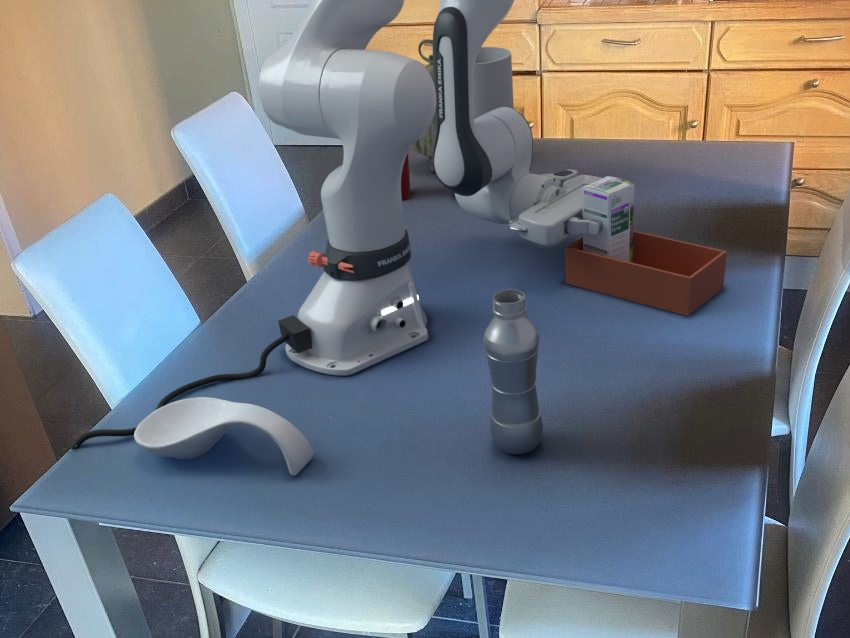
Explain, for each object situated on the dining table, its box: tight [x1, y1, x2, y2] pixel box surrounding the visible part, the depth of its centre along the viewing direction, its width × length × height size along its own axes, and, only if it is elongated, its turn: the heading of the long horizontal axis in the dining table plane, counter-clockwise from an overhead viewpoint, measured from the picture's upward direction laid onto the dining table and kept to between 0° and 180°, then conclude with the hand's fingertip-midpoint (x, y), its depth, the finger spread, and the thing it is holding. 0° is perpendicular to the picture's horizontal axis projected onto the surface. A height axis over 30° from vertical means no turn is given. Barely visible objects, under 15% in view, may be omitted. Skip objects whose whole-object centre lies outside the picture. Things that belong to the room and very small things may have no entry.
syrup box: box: [582, 175, 635, 262], centre depth 146 cm, size 6×6×14 cm
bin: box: [564, 229, 728, 317], centre depth 145 cm, size 22×11×6 cm, turn 51°
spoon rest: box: [133, 396, 314, 477], centre depth 117 cm, size 24×12×7 cm, turn 68°
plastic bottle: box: [483, 288, 544, 455], centre depth 109 cm, size 6×7×20 cm
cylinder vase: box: [473, 46, 515, 119], centre depth 176 cm, size 12×12×25 cm
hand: (613, 219), depth 144 cm, fingers closed on syrup box, 6 cm apart
